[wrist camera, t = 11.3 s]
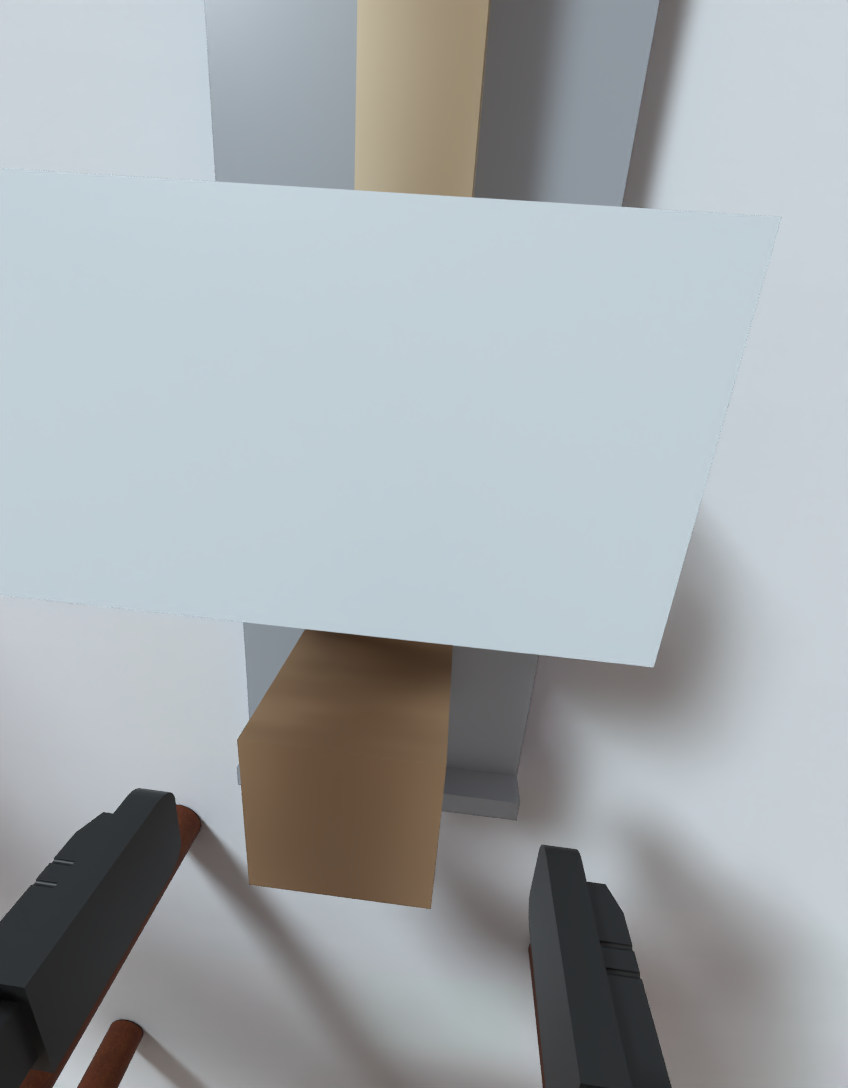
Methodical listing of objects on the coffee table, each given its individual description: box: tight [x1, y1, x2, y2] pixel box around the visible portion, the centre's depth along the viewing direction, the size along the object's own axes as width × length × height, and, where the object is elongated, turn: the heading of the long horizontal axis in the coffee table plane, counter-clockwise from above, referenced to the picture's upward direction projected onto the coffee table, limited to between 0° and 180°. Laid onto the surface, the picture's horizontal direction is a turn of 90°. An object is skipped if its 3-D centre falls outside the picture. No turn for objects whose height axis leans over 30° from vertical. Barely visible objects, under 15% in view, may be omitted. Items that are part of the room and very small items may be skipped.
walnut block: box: [237, 629, 453, 909], centre depth 13 cm, size 4×4×7 cm
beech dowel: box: [354, 0, 491, 198], centre depth 11 cm, size 2×18×2 cm, turn 176°
